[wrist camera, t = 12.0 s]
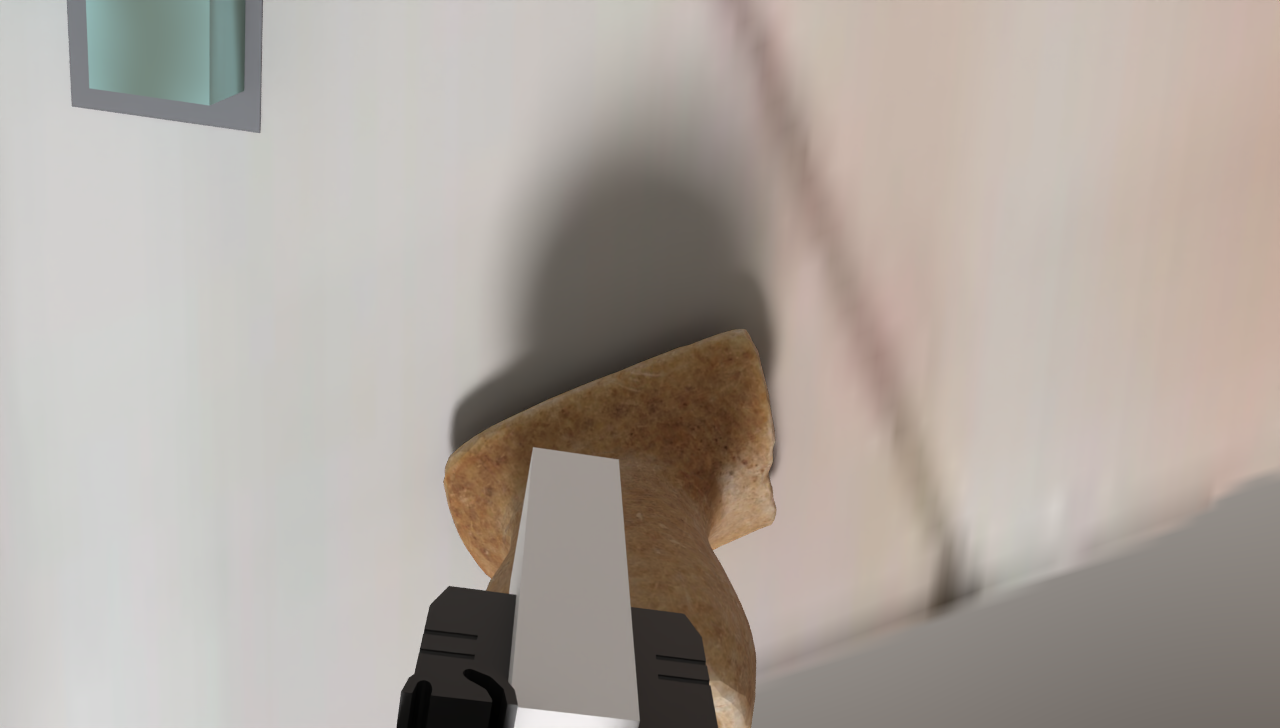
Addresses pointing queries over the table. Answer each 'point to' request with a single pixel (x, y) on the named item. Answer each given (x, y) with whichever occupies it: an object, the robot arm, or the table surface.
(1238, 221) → the table surface
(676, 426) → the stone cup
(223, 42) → the t block
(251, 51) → the pad
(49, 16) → the table surface
